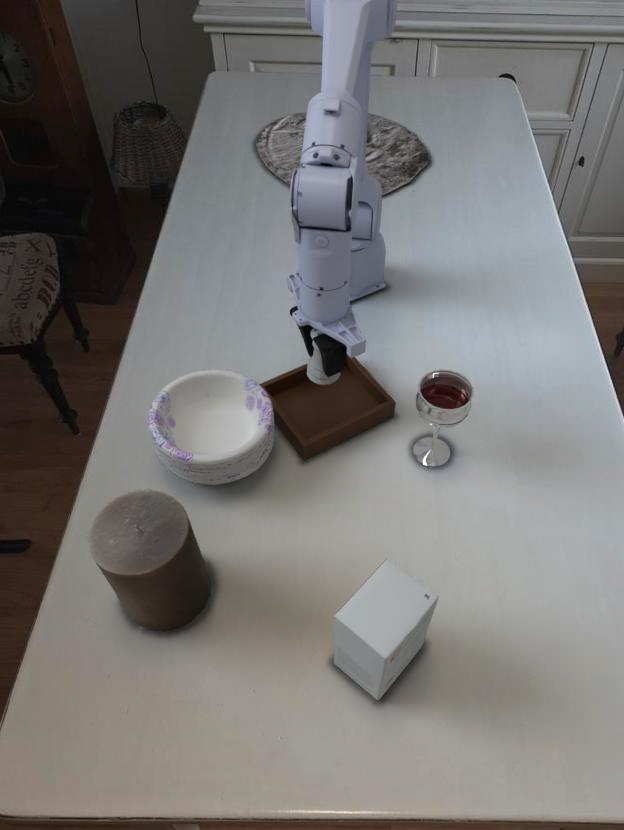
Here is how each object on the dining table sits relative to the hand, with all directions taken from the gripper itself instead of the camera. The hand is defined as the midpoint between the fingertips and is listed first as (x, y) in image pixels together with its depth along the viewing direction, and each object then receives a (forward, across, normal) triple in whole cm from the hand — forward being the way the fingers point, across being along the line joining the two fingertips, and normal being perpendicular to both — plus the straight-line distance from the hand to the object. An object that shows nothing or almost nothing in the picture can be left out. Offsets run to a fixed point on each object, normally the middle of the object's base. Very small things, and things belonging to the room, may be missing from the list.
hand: (324, 363), depth 81 cm
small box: (+9, +33, -14) cm, 37 cm away
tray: (+8, 0, 0) cm, 8 cm away
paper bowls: (+9, -1, -16) cm, 18 cm away
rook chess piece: (+2, 0, 0) cm, 2 cm away
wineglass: (+9, +14, +8) cm, 19 cm away
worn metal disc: (+8, -57, +39) cm, 69 cm away
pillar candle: (+9, +14, -30) cm, 34 cm away
